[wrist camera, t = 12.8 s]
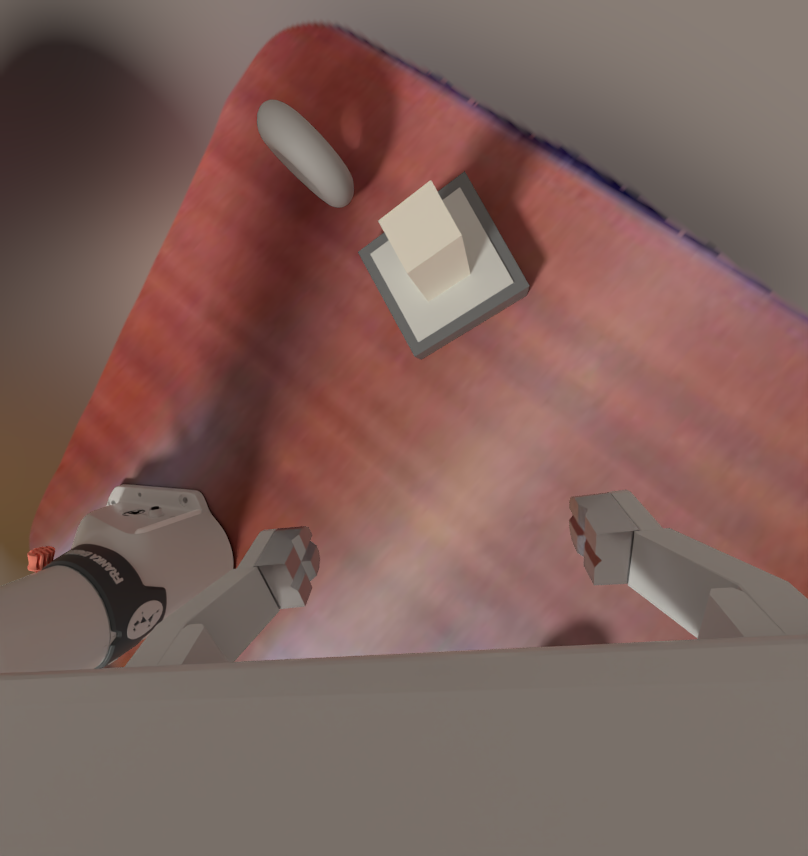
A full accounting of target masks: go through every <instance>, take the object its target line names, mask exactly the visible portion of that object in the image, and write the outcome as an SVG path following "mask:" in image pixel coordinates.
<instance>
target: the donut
mask: <svg viewBox="0 0 808 856" xmlns="http://www.w3.org/2000/svg"><path fill="white" fill-rule="evenodd" d="M257 126H258V131H259V133H260V135H261V138H262V139H263V141H264V142H265V144H266V145H267V146H268V147H269V148H270V150H271V151H272V152H273V153H274V154H275V156H276V157H277V158H278V159H279V160H280V161H281V162H282V163H283V164H284V165H285V166H286V167H287V168H288V169H289V170H290V171H291V172H292V173H293V174H294V175H295V176H296V177H297V178H298V179H299V180H300V181H301V182H302V183H303V184H304V185H305V186H307V187H308V188H309V189H310V190H311V191H312V192H313V193H314V194H316V195H317V196H318V197H319V198H320V199H322V200H323V201H324V202H326V203H327V204H329V205H330V206H333V207H337V208H339V207H344V206H346V205H348V204H349V203H350V202H351V200H352V198H353V195H354V184H353V179H352V176H351V174H350V172H349V170H348V168H347V166H346V165H345V164H344V162H343V161H342V159H341V158H340V157H339V155H338V154H337V153H336V152H335V150H334V149H333V148H332V147H331V146H330V144H329V143H328V142H327V141H326V140H325V139H324V138H323V137H322V135H321V134H320V133H319V132H318V131H317V130H316V129H315V128H314V127H313V126H312V125H311V124H310V123H309V122H308V121H307V120H306V119H305V118H304V117H302V116H301V115H300V114H299V113H298V112H297V111H296V110H294V109H293V108H291V107H290V106H289V105H287V104H285V103H283V102H281V101H277V100H268V101H266V102H264V103H263V104H262V105H261V106H260V108H259V111H258V113H257Z"/></svg>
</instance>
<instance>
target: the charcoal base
mask: <svg viewBox="0 0 808 856" xmlns="http://www.w3.org/2000/svg"><path fill="white" fill-rule="evenodd" d="M438 194H439V195H440V197H441V199H442V201H443V203H444V204H445V206H446V208H447V210H448V211H449V213H450V215H451V217H452V219H453V220H454V222H455V224H456V226H457V228H458V229H459V231H460V233H461V235H462V238H463V243H464V247H465V252H466V256H467V261H468V265H469V269H470V275H469V276H467V277H466V278H464V279H463V280H461V281H459V282H458V283H456V284H455V285H453V286H452V287H450V288H449V289H447V290H446V291H444V292H443V293H441V294H440V295H438V296H437V297H435V298H434V299H432V300H431V301H429V302H428V301H427V299H426V298H425V297H424V295H423V294H422V293H421V291H420V290H419V289H418V287H417V286H416V285H415V283H414V282H413V281H412V279H411V278H410V277H409V275H408V274H407V272H406V271H405V269H404V267H403V265H402V263H401V262H400V260H399V258H398V256H397V254H396V252H395V251H394V249H393V247H392V245H391V243H390V242H389V240H388V238H387V236H386V234H385V232H384V233H383V234H381V235H380V236H379V237H377V238H376V239H375V240H373V241H372V242H371V243H369V244H368V245H367V246H365V247H364V248H363V249H361V250H360V251H359V252H358V253H359V255H360V257H361V259H362V261H363V262H364V264H365V266H366V268H367V270H368V272H369V273H370V275H371V277H372V279H373V281H374V283H375V284H376V286H377V288H378V290H379V292H380V294H381V296H382V297H383V299H384V301H385V303H386V305H387V307H388V308H389V310H390V312H391V314H392V316H393V318H394V319H395V321H396V323H397V325H398V327H399V329H400V330H401V332H402V334H403V336H404V338H405V340H406V342H407V343H408V345H409V347H410V349H411V351H412V353H413V354H414V356H415V357H417V358H419V359H423V358H425V357H426V356H428V355H430V354H431V353H433V352H435V351H436V350H438V349H440V348H441V347H443V346H444V345H446V344H448V343H449V342H451V341H453V340H454V339H456V338H458V337H459V336H461V335H463V334H464V333H466V332H467V331H469V330H471V329H472V328H474V327H476V326H477V325H479V324H481V323H482V322H484V321H486V320H487V319H489V318H490V317H492V316H494V315H495V314H497V313H499V312H500V311H502V310H504V309H505V308H507V307H509V306H510V305H512V304H513V303H515V302H517V301H518V300H520V299H522V298H523V297H525V296H527V293H528V290H529V284H528V282H527V281H526V279H525V277H524V275H523V274H522V272H521V270H520V268H519V266H518V265H517V263H516V261H515V259H514V258H513V256H512V254H511V252H510V251H509V249H508V247H507V245H506V243H505V242H504V240H503V238H502V236H501V235H500V233H499V231H498V229H497V228H496V226H495V224H494V222H493V220H492V219H491V217H490V215H489V213H488V212H487V210H486V208H485V206H484V205H483V203H482V201H481V199H480V197H479V196H478V194H477V192H476V190H475V189H474V187H473V185H472V183H471V182H470V180H469V178H468V176H467V174H466V173H465V171H464V172H463V173H462V174H460V175H459V176H458V177H456V178H455V179H454V180H453V181H451V182H450V183H449V184H447V185H446V186H445V187H443V188H442V189H441V190H439V191H438Z"/></svg>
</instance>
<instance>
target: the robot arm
mask: <svg viewBox="0 0 808 856" xmlns="http://www.w3.org/2000/svg"><path fill="white" fill-rule="evenodd" d="M569 508H570V510H571V512H572V514H573V516H572V517H571V518H570V520H569V529H570V535H571V539H572V542H573V545H574V547H575V549H576V551H577V553H579V554H580V555H582V556H583V557H584V567H585V569H586V571H587V573H588V575H589V577H590V579H591V581H592V583H593V585H610V584H628V586H630V587H631V588H632V589H634V590H635V591H636V592H638V593H639V594H640V595H642V596H643V597H644V598H646V599H647V600H648V601H649V602H651V603H652V604H653V605H655V606H656V607H657V608H659V609H660V610H661V611H663V612H664V613H665V614H667V615H668V616H669V617H670V618H672V619H673V620H674V621H676V622H677V623H678V624H680V625H681V626H682V627H684V628H685V629H686V630H687V631H689V632H690V633H691V634H693V635H694V636H695V637H697V638H698V639H696V640H675V641H655V642H634V643H613V644H592V645H572V646H551V647H531V648H511V649H490V650H470V651H449V652H429V653H408V654H387V655H367V656H346V657H326V658H305V659H285V660H264V661H244V662H234V661H235V660H236V659H237V658H238V657H239V655H240V654H241V653H242V652H243V651H244V650H245V649H246V648H247V647H248V645H249V644H250V643H251V642H252V641H253V640H254V639H255V638H256V636H257V635H258V634H259V633H260V632H261V631H262V630H263V629H264V628H265V626H266V625H267V624H268V623H269V622H270V621H271V620H272V619H273V617H274V616H275V615H276V614H277V613H278V612H279V611H280V610H279V609H285V608H294V607H304V606H306V603H307V600H308V598H309V595H310V592H311V590H312V586H311V583H310V581H311V580H312V579H313V578H314V577H316V576H317V573H318V570H319V565H320V555H319V550H318V548H317V545H315V544H314V543H313V542H311V541H310V540H311V537H312V533H311V531H310V529H309V527H306V526H300V527H289V528H278V529H269V530H263V531H261V532H260V533H259V535H258V536H257V538H256V539H255V541H254V542H253V544H252V546H251V547H250V549H249V550H248V552H247V553H246V555H245V556H244V558H243V560H242V561H241V563H240V564H239V566H238V567H237V569H233V554H232V549H231V546H230V543H229V540H228V538H227V536H226V534H225V532H224V530H223V529H222V527H221V526H220V524H219V523H218V522H217V521H216V519H215V518H214V517H213V516H212V514H211V513H210V511H209V509H208V506H207V503H206V501H205V499H204V497H203V495H202V494H201V492H199V491H197V490H188V489H177V488H165V487H153V486H141V485H128V484H122V485H120V486H117V487H115V488H114V490H113V491H112V493H111V495H110V497H109V499H108V502H107V506H106V507H103V508H100V509H97V510H94V511H92V512H90V513H89V514H87V515H86V516H85V517H84V518H83V519H82V521H81V522H80V524H79V526H78V529H77V532H76V535H75V538H74V541H73V544H72V547H71V550H69V551H68V552H66V553H64V554H63V555H61V556H60V557H58V558H56V559H55V560H53V557H54V554H55V548H54V547H50V546H46V547H39V548H35V549H34V550H31V551H30V552H28V560H29V565H28V570H30V571H36V573H34V574H31V575H29V576H26V577H23V578H21V579H18V580H15V581H13V582H10V583H8V584H5V585H3V586H0V856H808V599H807V598H806V597H805V596H804V595H802V594H801V593H800V592H799V591H798V590H797V589H796V588H795V587H793V586H792V585H791V584H790V583H789V582H787V581H785V580H783V579H780V578H778V577H776V576H774V575H772V574H769V573H767V572H765V571H763V570H761V569H758V568H756V567H754V566H752V565H750V564H747V563H745V562H743V561H741V560H739V559H736V558H734V557H732V556H730V555H728V554H725V553H723V552H721V551H719V550H716V549H714V548H712V547H710V546H708V545H705V544H703V543H701V542H699V541H697V540H694V539H692V538H690V537H688V536H686V535H683V534H681V533H679V532H677V531H675V530H672V529H670V528H665V529H663V528H662V527H661V526H660V524H659V523H658V522H657V521H656V520H655V519H654V518H653V517H652V515H651V514H650V513H649V512H648V511H647V510H646V509H645V508H644V506H643V505H642V504H641V503H640V502H639V501H638V500H637V499H636V497H635V496H634V495H633V494H632V493H631V492H630V491H628V490H619V491H612V492H607V493H599V494H590V495H582V496H573V497H571V498H570V501H569ZM146 637H147V638H146ZM145 638H146V639H145ZM143 639H145V641H144V642H143V643H142V645H141V646H140V647H139V649H138V650H137V651H136V652H135V654H134V655H133V656H132V658H131V659H130V660H129V662H128V663H127V664H126V666H125V667H122V668H103V667H105V666H106V665H108V664H110V663H112V662H113V661H115V660H117V659H118V657H120V656H121V655H123V654H124V653H126V652H127V651H129V650H130V649H132V648H133V647H134V646H136V645H137V644H138V643H139V642H140V641H141V640H143Z"/></svg>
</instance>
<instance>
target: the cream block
mask: <svg viewBox="0 0 808 856" xmlns="http://www.w3.org/2000/svg"><path fill="white" fill-rule="evenodd" d="M378 222H379V223H380V225H381V227H382V229H383V231H384V232H385V234H386V236H387V238H388V240H389V242H390V243H391V245H392V247H393V249H394V251H395V252H396V254H397V256H398V258H399V260H400V262H401V263H402V265H403V267H404V269H405V271H406V272H407V274H408V275H409V277H410V278H411V279H412V281H413V282H414V283H415V285H416V286H417V287H418V289H419V290H420V291H421V293H422V294H423V295H424V297H425V298H426V299H427V301H428V302H429V301H431V300H432V299H434V298H435V297H437V296H438V295H440V294H441V293H443V292H444V291H446V290H447V289H449V288H450V287H452V286H453V285H455V284H456V283H458V282H459V281H461V280H463V279H464V278H466V277H467V276H469V275H470V269H469V265H468V261H467V256H466V252H465V247H464V243H463V238H462V235H461V233H460V231H459V229H458V228H457V226H456V224H455V222H454V220H453V219H452V217H451V215H450V213H449V211H448V210H447V208H446V206H445V204H444V203H443V201H442V199H441V197H440V195H439V194H438V192H437V190H436V188H435V187H434V185H433V183H432V181H431V180H430V181H429V182H428V183H426V184H425V185H424V186H423V187H421V188H420V189H419V190H417V191H416V192H415V193H414V194H412V195H411V196H410V197H408V198H407V199H406V200H404V201H403V202H402V203H401V204H399V205H398V206H397V207H395V208H394V209H393V210H392V211H390V212H389V213H388V214H386V215H385V216H384V217H383V218H381V219H380V220H379V221H378Z"/></svg>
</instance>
